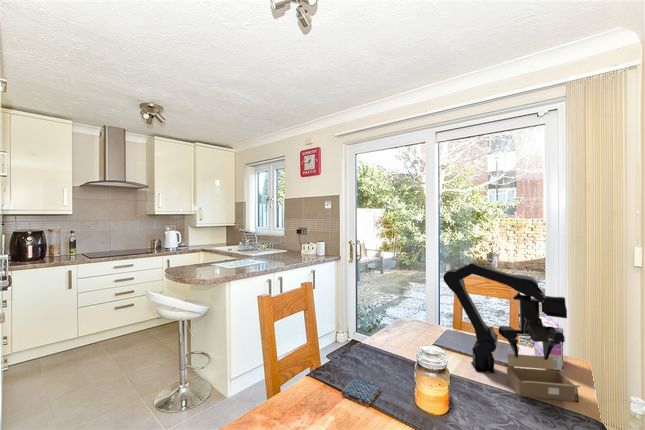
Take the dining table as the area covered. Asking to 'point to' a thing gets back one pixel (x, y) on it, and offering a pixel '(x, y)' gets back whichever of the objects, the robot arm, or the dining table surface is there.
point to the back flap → (531, 361)
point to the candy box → (557, 349)
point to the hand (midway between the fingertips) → (531, 358)
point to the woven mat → (361, 391)
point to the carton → (539, 390)
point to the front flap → (551, 384)
